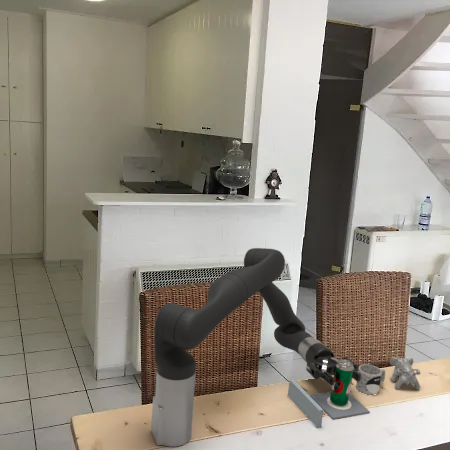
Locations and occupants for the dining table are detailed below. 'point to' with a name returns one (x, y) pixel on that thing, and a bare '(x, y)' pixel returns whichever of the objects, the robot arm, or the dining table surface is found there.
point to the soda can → (342, 383)
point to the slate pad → (339, 411)
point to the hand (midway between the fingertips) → (346, 380)
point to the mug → (370, 379)
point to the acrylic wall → (305, 403)
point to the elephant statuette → (404, 372)
